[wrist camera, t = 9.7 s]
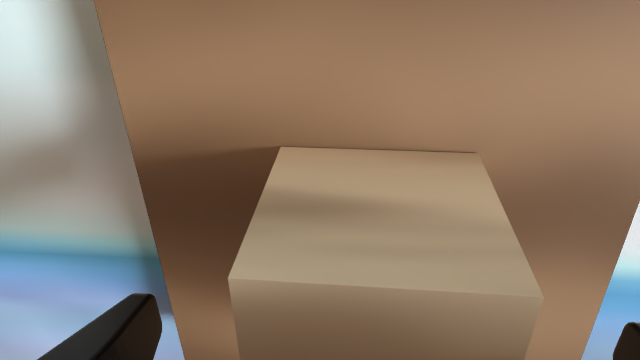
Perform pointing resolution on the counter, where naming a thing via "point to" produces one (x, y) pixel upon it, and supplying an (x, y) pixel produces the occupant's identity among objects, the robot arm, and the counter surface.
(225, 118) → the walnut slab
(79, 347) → the robot arm
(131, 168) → the counter surface
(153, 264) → the counter surface
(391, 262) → the maple cube
